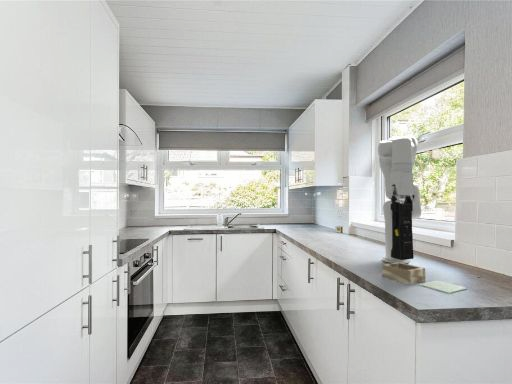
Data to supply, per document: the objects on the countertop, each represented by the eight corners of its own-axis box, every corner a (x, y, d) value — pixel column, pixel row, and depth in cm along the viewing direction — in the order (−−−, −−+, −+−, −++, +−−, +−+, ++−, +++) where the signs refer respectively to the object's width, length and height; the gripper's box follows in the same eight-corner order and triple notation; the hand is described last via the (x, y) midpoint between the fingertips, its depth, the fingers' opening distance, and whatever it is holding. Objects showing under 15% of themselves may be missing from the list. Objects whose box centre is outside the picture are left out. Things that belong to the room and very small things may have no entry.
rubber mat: (436, 281, 116) (436, 280, 116) (467, 289, 106) (467, 288, 106) (419, 285, 111) (419, 284, 111) (449, 293, 101) (449, 292, 101)
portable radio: (400, 260, 116) (400, 197, 116) (388, 257, 121) (388, 197, 121) (414, 259, 118) (414, 197, 119) (402, 256, 124) (402, 197, 124)
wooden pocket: (398, 273, 127) (398, 262, 127) (425, 280, 116) (425, 268, 116) (382, 276, 123) (382, 264, 123) (408, 284, 112) (408, 271, 112)
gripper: (407, 169, 127) (407, 210, 127) (379, 168, 120) (380, 211, 120) (424, 168, 121) (424, 211, 121) (395, 167, 113) (396, 212, 113)
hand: (402, 211), depth 120 cm, fingers closed on portable radio, 7 cm apart
